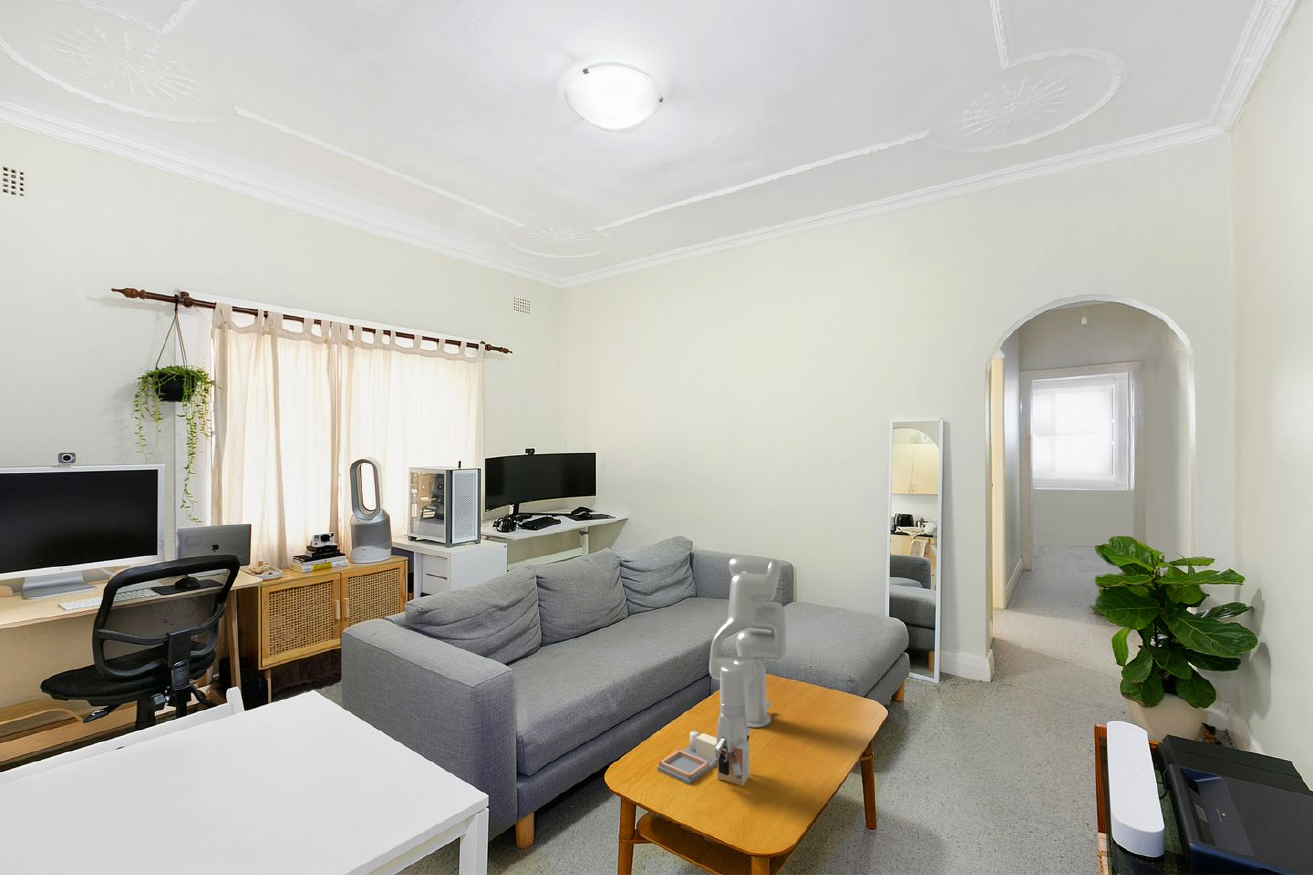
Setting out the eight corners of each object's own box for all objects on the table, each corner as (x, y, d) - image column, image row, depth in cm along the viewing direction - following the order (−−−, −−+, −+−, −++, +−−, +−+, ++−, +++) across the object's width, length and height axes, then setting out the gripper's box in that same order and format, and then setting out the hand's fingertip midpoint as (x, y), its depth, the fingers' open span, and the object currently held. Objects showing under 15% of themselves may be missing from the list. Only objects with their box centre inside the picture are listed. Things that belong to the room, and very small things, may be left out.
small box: (717, 779, 173) (716, 743, 173) (724, 770, 178) (723, 734, 178) (743, 786, 169) (742, 749, 170) (749, 776, 174) (749, 740, 175)
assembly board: (693, 746, 192) (692, 728, 192) (723, 759, 184) (723, 739, 184) (657, 769, 178) (657, 749, 178) (689, 784, 171) (688, 763, 171)
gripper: (737, 695, 183) (738, 750, 183) (705, 714, 170) (705, 774, 170) (759, 701, 178) (759, 758, 178) (727, 722, 165) (727, 784, 165)
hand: (733, 766), depth 174 cm, fingers open, 9 cm apart
